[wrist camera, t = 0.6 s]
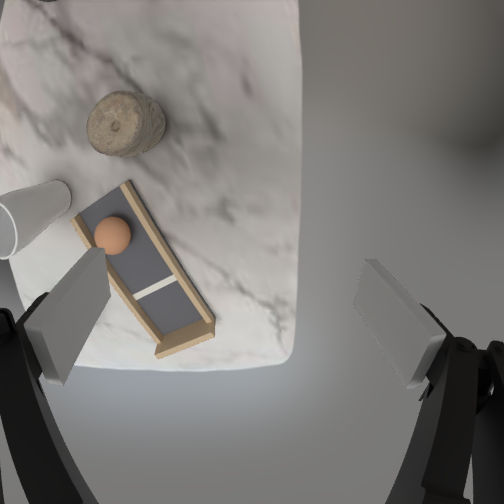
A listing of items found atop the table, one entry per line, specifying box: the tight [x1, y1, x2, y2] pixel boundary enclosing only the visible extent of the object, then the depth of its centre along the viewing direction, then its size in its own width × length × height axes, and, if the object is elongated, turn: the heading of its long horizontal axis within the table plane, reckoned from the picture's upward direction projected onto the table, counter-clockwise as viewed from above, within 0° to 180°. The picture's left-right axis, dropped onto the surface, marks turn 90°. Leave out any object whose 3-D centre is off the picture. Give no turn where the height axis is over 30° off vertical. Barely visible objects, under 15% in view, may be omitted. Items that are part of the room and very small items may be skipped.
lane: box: [70, 180, 215, 359], centre depth 40 cm, size 24×10×5 cm, turn 26°
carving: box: [87, 91, 166, 157], centre depth 30 cm, size 6×8×12 cm
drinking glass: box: [0, 180, 71, 259], centre depth 30 cm, size 7×7×15 cm
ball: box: [94, 217, 131, 255], centre depth 37 cm, size 5×5×5 cm
